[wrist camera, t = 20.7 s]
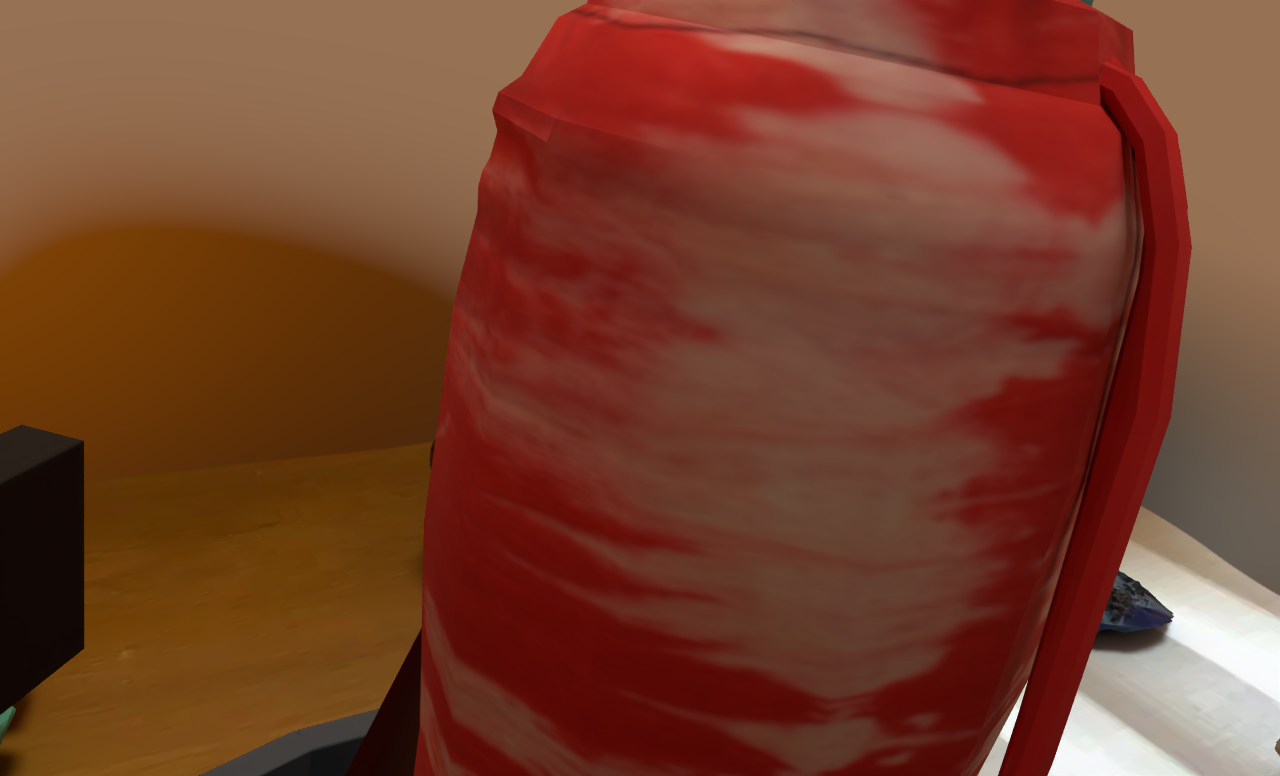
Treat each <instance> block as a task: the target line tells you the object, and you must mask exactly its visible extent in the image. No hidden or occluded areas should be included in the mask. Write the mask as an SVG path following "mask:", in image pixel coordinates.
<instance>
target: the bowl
mask: <svg viewBox="0 0 1280 776" xmlns="http://www.w3.org/2000/svg"><path fill="white" fill-rule="evenodd" d="M378 711H379V709H376V710H372V711H368V712H364V713H361V714H357V715H353V716H349V717H345V718H342V719H338V720H334V721H330V722H326V723H322V724H319V725H315V726H311V727H307V728H303V729H299V730H298V731H293V732H291V733H289V734H287V735H284V736H282V737H280V738H278V739H276V740H274V741H272V742H270V743H267V744H265V745H263V746H261V747H259V748H257V749H255V750H252V751H250V752H248V753H246V754H244V755H242V756H240V757H238V758H235V759H233V760H231V761H229V762H227V763H225V764H223V765H221V766H218V767H216V768H214V769H212V770H210V771H208V772H206V773H204V774H201V775H199V776H345V774H346V772H347V770H348V768H349V766H350V765H351V763H352V761H353V759H354V757H355V755H356V753H357V751H358V749H359V747H360V745H361V743H362V741H363V740H364V738H365V736H366V734H367V732H368V730H369V728H370V726H371V724H372V722H373V720H374V718H375V717H376V715H377V713H378Z"/></svg>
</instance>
